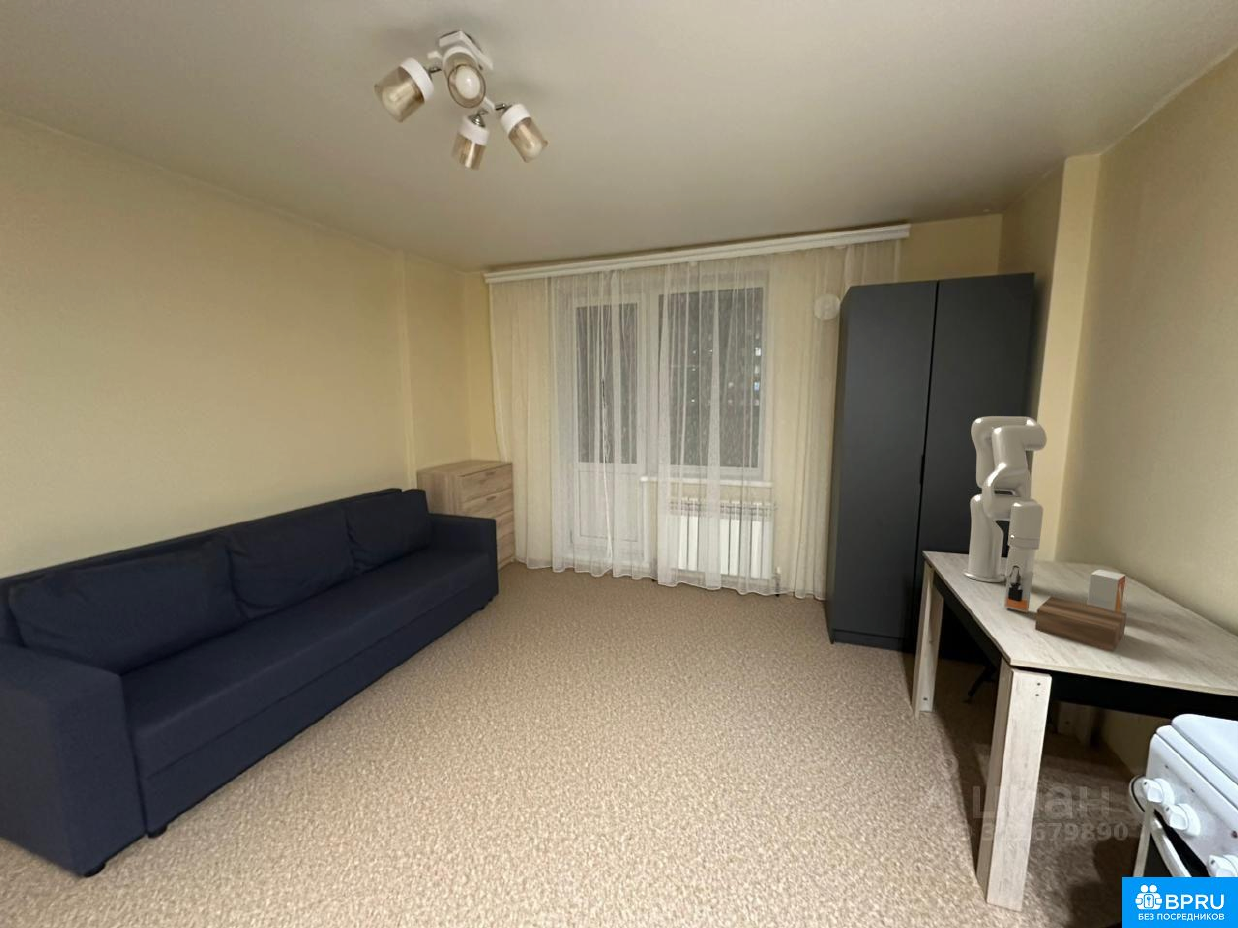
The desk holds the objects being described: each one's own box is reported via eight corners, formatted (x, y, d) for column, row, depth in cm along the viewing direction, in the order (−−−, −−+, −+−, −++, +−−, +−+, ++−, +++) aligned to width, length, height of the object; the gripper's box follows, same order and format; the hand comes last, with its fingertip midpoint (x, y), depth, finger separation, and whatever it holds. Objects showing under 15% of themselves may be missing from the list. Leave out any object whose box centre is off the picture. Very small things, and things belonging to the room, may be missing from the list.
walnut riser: (1049, 614, 149) (1051, 596, 149) (1123, 634, 137) (1126, 613, 136) (1034, 629, 140) (1036, 609, 139) (1113, 651, 127) (1115, 629, 126)
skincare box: (1003, 607, 154) (1007, 571, 152) (1004, 603, 157) (1008, 567, 155) (1028, 613, 149) (1032, 575, 148) (1029, 608, 153) (1033, 571, 151)
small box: (1114, 621, 144) (1119, 579, 143) (1085, 614, 150) (1089, 573, 148) (1121, 615, 149) (1126, 574, 147) (1093, 608, 154) (1097, 568, 153)
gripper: (1016, 534, 158) (1011, 587, 161) (999, 544, 148) (993, 601, 150) (1046, 539, 152) (1040, 595, 155) (1031, 550, 142) (1024, 609, 145)
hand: (1017, 597), depth 153 cm, fingers closed on skincare box, 4 cm apart
